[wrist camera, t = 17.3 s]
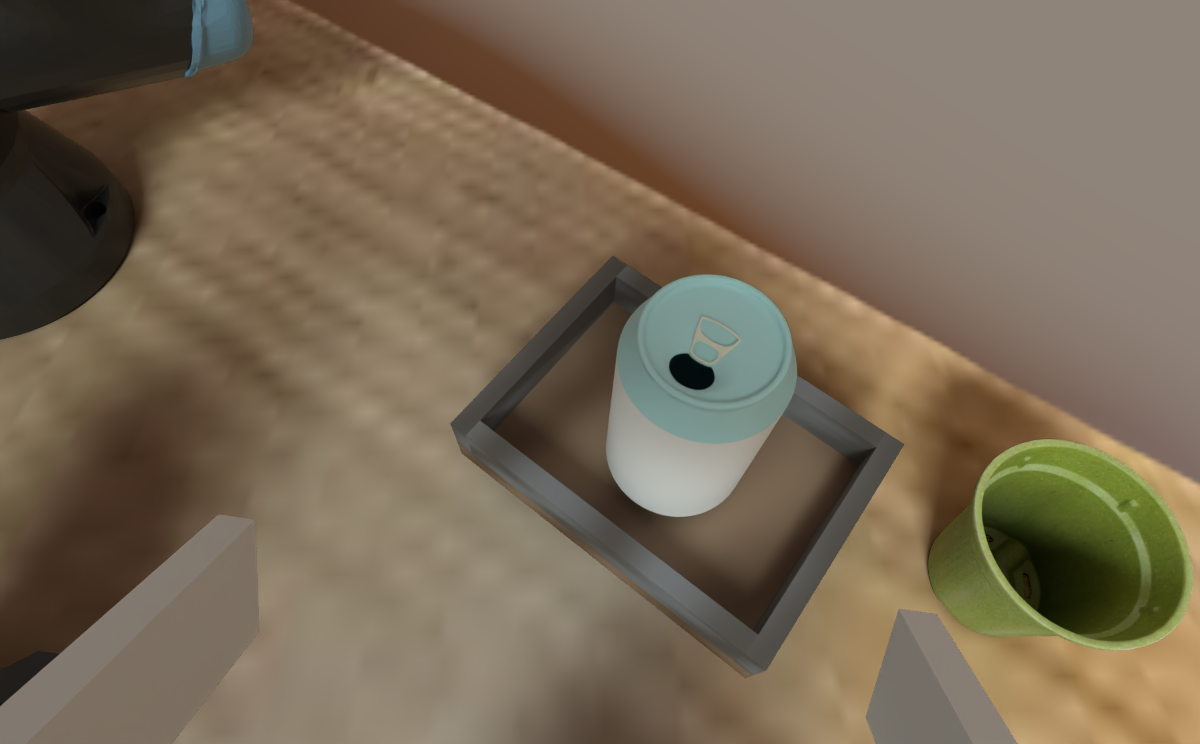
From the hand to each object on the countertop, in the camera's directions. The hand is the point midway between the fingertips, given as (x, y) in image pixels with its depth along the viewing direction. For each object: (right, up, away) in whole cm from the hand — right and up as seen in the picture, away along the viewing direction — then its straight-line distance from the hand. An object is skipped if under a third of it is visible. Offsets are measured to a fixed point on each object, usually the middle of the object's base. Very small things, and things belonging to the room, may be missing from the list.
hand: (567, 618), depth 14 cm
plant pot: (+22, -6, +25) cm, 33 cm away
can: (+4, +1, +22) cm, 23 cm away
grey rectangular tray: (+4, -1, +26) cm, 27 cm away
